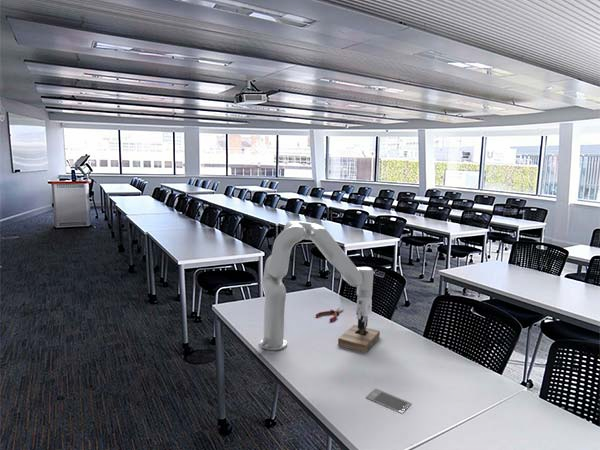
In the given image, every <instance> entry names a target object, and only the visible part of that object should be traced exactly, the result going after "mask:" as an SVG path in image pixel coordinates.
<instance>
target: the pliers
mask: <svg viewBox="0 0 600 450" xmlns="http://www.w3.org/2000/svg"><path fill="white" fill-rule="evenodd" d="M344 310H345V309H344V308H343V309H340V307H338V308H336V309H330V310H326V311H319V312H318V313H316V314H315V318H319V317H321V316H329V315H334V316H332V317H330V318H329V323H333V322H335V321H336V320H337V318H338V317H337V316H340V314H341V313H342V312H343V311H344Z"/></svg>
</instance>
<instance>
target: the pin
mask: <svg viewBox="0 0 600 450" xmlns="http://www.w3.org/2000/svg"><path fill="white" fill-rule="evenodd" d="M361 315H362V314H361ZM361 318H362V317H361ZM366 322H367V323H368V321H367V316H366V317H364V330H362V329H359V333H361V334H365V333H366V328H367V327H366Z"/></svg>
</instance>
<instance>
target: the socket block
mask: <svg viewBox="0 0 600 450" xmlns="http://www.w3.org/2000/svg"><path fill="white" fill-rule="evenodd" d="M380 334H381V330H377V329H373V328H369V327H366V333H365V334H361V333H359V329H358V324H357V325H356V324H353V325H352V326H351V327H349V329H347V330H346V331H345V332H344V333H342V335H341V336H339V337H338V340H337V346H339V347H344V348H347V349H350V350H355V351H358V352H362V353H365V354H366V353H367V352H368V350H369V349H370V348H372V347H373V345H374V344H375V343H376V342H377V341H378V340H379V339H380Z"/></svg>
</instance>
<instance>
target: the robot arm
mask: <svg viewBox="0 0 600 450" xmlns="http://www.w3.org/2000/svg"><path fill="white" fill-rule="evenodd" d="M302 240H307V241H308V240H309V241H312V243H313V244H314V245H315V246H316V247H317V249H318V250H319V252H321V254H322V255H323V256H324V257H325V259H326V260H327V261H328V262H329V264H331V265H332V266H333V267H335V269H336V270H337V272H339V273H340V276H341V278H342V279H343V280H344V281H345V282H346V283H347V284H348V285H349V286H351V287H355V288H356V296H357V299H356V309H355V312H356V313H355V314H356V319H357V325H358V329H362V330H364V317H366V316H367V322H366V328H368V322H369V321H368V318H369V315H370V314H371V313H372V307H373V305H372V304H373V299H372V296H373V288H374V287H373V284H374V269H373V268H372V267H370V266H358V267H357V266H356V265H355V263H354V262H353V261H352V260H351V258H350V257H348V255H347V254H346V252H344V250H343V249H342V248H341V246H340V244H338V243H337V242H336V240H335V238H334V237H333V236H332V235H331V234H330V232H329V231H328V230H327V229H326V227H324V226H323V225H320V224H319V223H312V222H306V221H299V220H290V221H288V222H286V223H285V225H284V227H283V230H282V231H281V232H280V233H279V234H278V235H277V236H276V238H275V239H274V242H273V246H272V251H271V254H270V255H269V256H268V257H267V259H266V260H265V264H264V271H263V276H262V284H261V285H262V289H263V292H264V307H263V310H264V311H263V312H264V313H263V314H264V315H263V337H262V339H261V340H260V343H259V344H258V347H259V348H263V349H264V350H267V351H280V350H283V349H285V348H286V347H287V343H288V342H287V340H286V339H284V338H285V335H284V334H285V311H286V310H285V309H286V308H285V307H286V299H287V291H286V290H287V289H286V286H285V284H284V283H283V278H284V277H286V275H287V274H288V270H289V266H290V265H289V264H290V259H291V258H290V257H291V252H292V249H293V247H294V245H296V244H297V243H299V242H301V241H302ZM361 314H362V315H361ZM361 317H362V318H361Z"/></svg>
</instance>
